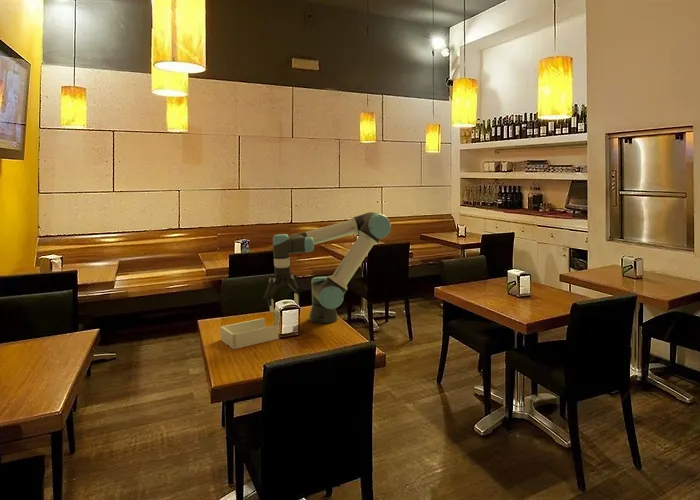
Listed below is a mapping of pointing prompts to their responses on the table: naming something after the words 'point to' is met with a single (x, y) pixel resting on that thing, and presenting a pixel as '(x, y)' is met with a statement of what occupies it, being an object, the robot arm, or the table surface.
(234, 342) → the open box
